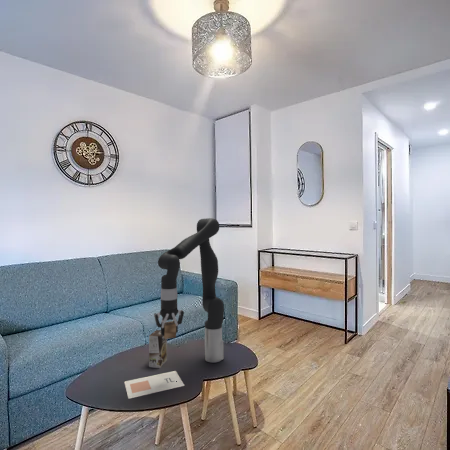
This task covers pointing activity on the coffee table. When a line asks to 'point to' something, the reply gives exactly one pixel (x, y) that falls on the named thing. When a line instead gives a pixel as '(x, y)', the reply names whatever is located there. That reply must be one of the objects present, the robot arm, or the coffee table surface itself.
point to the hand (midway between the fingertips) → (169, 334)
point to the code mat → (152, 384)
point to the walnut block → (169, 330)
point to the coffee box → (157, 349)
